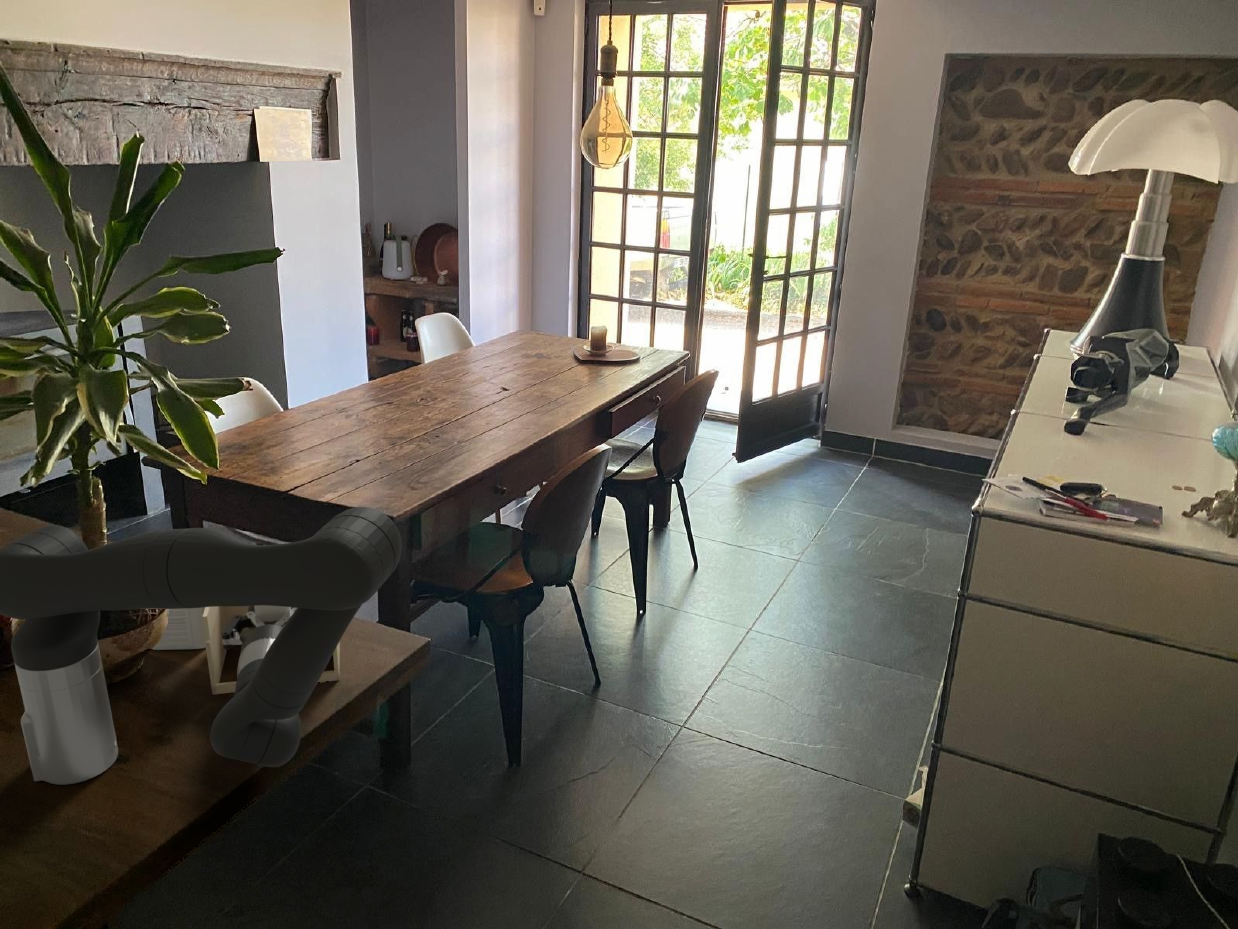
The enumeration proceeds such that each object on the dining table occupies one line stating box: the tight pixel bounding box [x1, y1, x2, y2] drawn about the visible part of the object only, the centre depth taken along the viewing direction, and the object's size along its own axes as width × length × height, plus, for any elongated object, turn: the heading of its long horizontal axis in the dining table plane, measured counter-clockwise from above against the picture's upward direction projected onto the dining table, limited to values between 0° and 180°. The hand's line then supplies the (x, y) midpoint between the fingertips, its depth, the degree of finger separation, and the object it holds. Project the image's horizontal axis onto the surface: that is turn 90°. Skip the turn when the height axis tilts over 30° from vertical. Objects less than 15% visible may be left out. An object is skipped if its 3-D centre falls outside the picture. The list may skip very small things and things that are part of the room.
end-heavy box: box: [254, 605, 291, 622], centre depth 145 cm, size 5×5×12 cm
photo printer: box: [152, 607, 206, 651], centre depth 148 cm, size 10×4×12 cm, turn 98°
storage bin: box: [203, 606, 341, 695], centre depth 145 cm, size 18×15×13 cm
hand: (275, 604), depth 147 cm, fingers closed on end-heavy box, 5 cm apart
